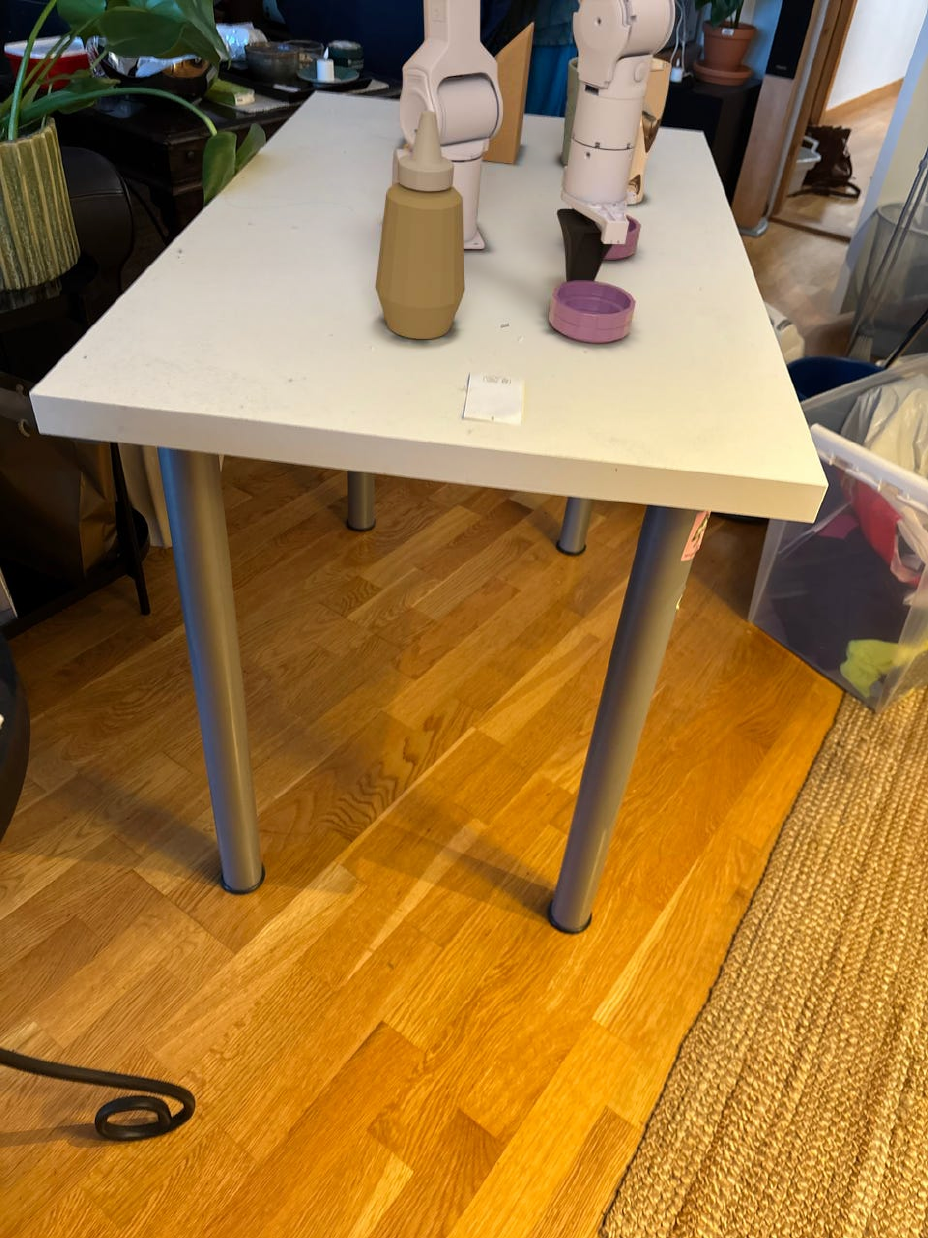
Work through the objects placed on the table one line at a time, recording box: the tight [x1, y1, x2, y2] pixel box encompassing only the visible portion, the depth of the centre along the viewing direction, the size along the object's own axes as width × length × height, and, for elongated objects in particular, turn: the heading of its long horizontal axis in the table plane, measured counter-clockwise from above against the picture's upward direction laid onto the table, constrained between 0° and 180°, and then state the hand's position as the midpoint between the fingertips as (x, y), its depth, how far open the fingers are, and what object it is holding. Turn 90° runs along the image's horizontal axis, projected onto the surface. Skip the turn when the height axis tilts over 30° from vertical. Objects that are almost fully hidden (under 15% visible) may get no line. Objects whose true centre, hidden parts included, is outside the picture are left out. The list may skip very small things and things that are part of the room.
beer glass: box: [627, 57, 672, 206], centre depth 111 cm, size 7×7×15 cm
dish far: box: [603, 214, 642, 261], centre depth 101 cm, size 8×8×3 cm
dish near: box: [548, 280, 637, 344], centre depth 86 cm, size 8×8×3 cm
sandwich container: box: [402, 21, 535, 165], centre depth 120 cm, size 9×15×15 cm, turn 81°
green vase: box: [561, 56, 580, 166], centre depth 120 cm, size 10×10×12 cm
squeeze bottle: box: [374, 111, 466, 340], centre depth 78 cm, size 8×8×18 cm
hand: (578, 289), depth 90 cm, fingers closed
